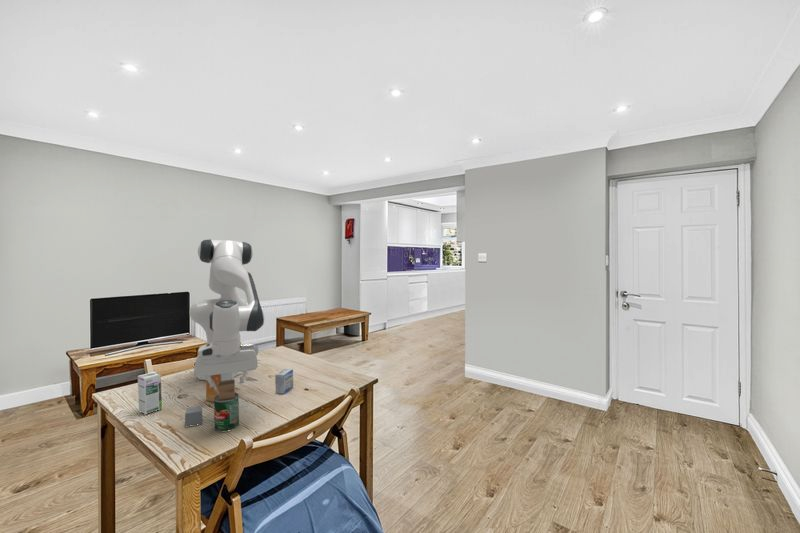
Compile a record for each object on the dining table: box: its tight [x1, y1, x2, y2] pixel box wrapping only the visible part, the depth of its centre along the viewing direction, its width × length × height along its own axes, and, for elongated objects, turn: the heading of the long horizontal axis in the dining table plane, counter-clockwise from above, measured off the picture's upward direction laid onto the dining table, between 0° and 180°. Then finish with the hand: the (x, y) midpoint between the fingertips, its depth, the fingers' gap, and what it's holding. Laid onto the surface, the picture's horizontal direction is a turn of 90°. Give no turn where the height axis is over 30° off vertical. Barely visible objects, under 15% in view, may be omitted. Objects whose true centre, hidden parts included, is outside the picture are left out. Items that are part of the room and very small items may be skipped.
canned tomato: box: [213, 392, 240, 433], centre depth 123 cm, size 8×8×11 cm
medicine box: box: [274, 368, 294, 395], centre depth 155 cm, size 8×4×9 cm, turn 168°
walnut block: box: [219, 378, 236, 400], centre depth 123 cm, size 5×5×5 cm
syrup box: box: [137, 371, 163, 415], centre depth 134 cm, size 6×6×14 cm
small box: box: [205, 373, 233, 403], centre depth 145 cm, size 8×6×13 cm
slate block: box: [184, 405, 203, 427], centre depth 126 cm, size 5×5×5 cm
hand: (227, 384), depth 123 cm, fingers open, 8 cm apart
